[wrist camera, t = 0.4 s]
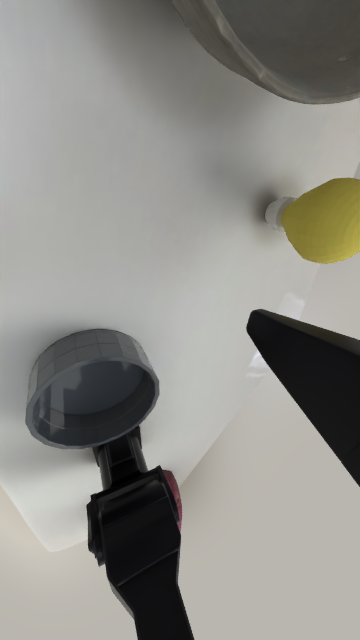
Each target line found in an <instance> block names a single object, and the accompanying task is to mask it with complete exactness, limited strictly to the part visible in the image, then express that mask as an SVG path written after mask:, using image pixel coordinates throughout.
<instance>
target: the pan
mask: <svg viewBox="0 0 360 640" xmlns="http://www.w3.org/2000/svg"><path fill="white" fill-rule="evenodd" d="M158 396H159V380H158V378H157V376H156V374H155V372H154V370H153V368H152V366H151V364H150V362H149V360H148V358H147V356H146V354H145V352H144V350H143V348H142V347H141V346H140V344H139V343H138V342H137V341H136V340H134V339H133V338H131V337H130V336H128V335H126V334H124V333H121V332H117V331H112V330H103V329H98V330H88V331H82V332H78V333H75V334H72V335H69V336H67V337H65V338H63V339H61V340H59V341H57V342H56V343H54V344H53V345H51V346H50V347H49V348H48V349H46V350H45V351H44V352H43V353H42V354H41V356H40V357H39V358H38V360H37V361H36V363H35V365H34V367H33V369H32V372H31V375H30V381H29V390H28V398H27V407H26V421H25V423H26V425H27V427H28V429H29V430H30V432H31V434H32V436H33V437H35V438H36V439H38V440H39V441H41V442H42V443H43V444H45V445H48V446H52V447H56V448H60V449H84V448H89V447H94V446H99V445H102V444H105V443H107V442H110V441H113V440H115V439H117V438H119V437H121V436H123V435H125V434H126V433H128V432H130V431H131V430H133V429H134V428H135V427H137V426H138V425H139V424H140V423H141V422H142V421H143V420H145V418H146V417H147V416H148V415H149V413H150V412H151V411H152V409H153V408H154V406H155V404H156V401H157V399H158Z"/></svg>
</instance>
